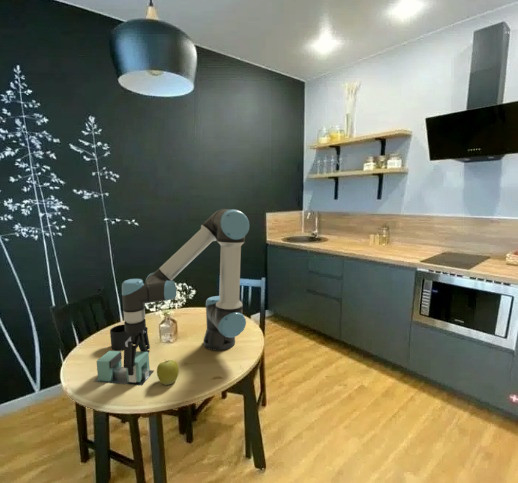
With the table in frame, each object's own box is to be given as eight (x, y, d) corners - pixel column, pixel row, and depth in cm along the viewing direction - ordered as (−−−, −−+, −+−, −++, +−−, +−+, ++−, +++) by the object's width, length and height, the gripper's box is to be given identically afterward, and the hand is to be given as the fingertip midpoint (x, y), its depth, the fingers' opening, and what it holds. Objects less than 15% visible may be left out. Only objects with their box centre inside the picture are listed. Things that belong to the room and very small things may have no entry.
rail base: (154, 371, 126) (153, 363, 125) (142, 386, 116) (141, 377, 116) (108, 368, 128) (108, 360, 128) (93, 382, 119) (92, 374, 118)
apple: (182, 382, 116) (172, 360, 114) (161, 391, 115) (151, 368, 113) (182, 371, 124) (173, 349, 122) (163, 379, 123) (153, 357, 121)
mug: (138, 348, 145) (136, 330, 144) (109, 352, 141) (108, 334, 140) (139, 340, 154) (138, 322, 153) (113, 343, 150) (111, 325, 149)
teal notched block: (123, 369, 126) (121, 351, 125) (111, 381, 119) (110, 361, 117) (110, 369, 127) (109, 350, 126) (98, 380, 119) (96, 361, 118)
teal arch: (149, 370, 125) (148, 351, 124) (139, 382, 117) (138, 362, 116) (136, 369, 126) (135, 351, 124) (125, 381, 118) (124, 361, 117)
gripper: (139, 309, 129) (143, 360, 132) (109, 331, 108) (114, 390, 112) (156, 310, 128) (159, 361, 131) (129, 332, 107) (133, 392, 111)
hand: (138, 375), depth 121 cm, fingers closed on teal arch, 8 cm apart
